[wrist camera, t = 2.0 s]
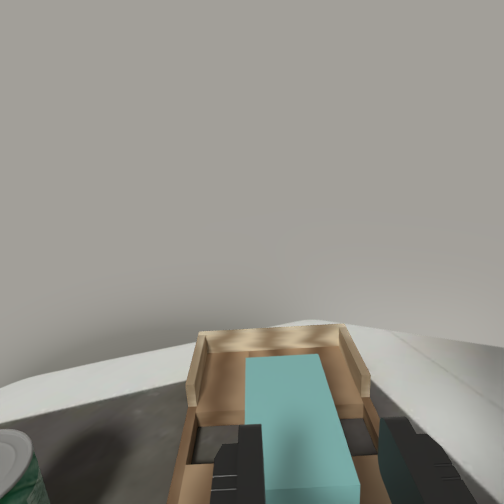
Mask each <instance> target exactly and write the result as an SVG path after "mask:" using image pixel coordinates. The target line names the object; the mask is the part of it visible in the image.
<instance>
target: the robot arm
mask: <svg viewBox="0 0 504 504" xmlns="http://www.w3.org/2000/svg"><path fill="white" fill-rule="evenodd" d="M378 465H379V470H380V474H381V477H382V480H383V483H384V485H385V488H386V490H387V493H388V495H389V498H390V501H391V503H392V504H477V502H476V501H475V499H474V498H473V496H472V494H471V493H470V491H469V490H468V488H467V486H466V485H465V483H464V482H463V480H461V478H460V475H459V474H458V472H457V470H456V469H455V467H454V466H452V462H451V461H450V459H449V458H448V456H447V454H446V453H445V451H444V450H443V448H442V447H441V446H440V445H439V444H438V443H437V442H436V441H434V440H433V439H432V438H431V437H430V436H429V435H427V434H416V432H415V431H414V429H413V427H412V425H411V424H410V422H409V420H408V419H407V418H406V417H405V416H403V417H384V418H381V419H380V423H379V440H378ZM210 504H266V494H265V474H264V456H263V440H262V425H261V424H247V425H239V433H238V443H236V444H222V446H221V448H220V450H219V451H218V453H217V455H216V457H215V458H214V467H213V478H212V485H211V495H210Z"/></svg>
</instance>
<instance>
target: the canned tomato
mask: <svg viewBox="0 0 504 504" xmlns="http://www.w3.org/2000/svg"><path fill="white" fill-rule="evenodd" d="M0 504H50V500H49V498H48V494H47V491H46V489H45V484H44V482H43V477H42V475H41V472H40V468H39V466H38V461H37V458H36V456H35V453H34V449H33V442H32V441H31V439H30V437H29V436H28V435H27V434H25V433H24V432H21V431H18V430H13V429H0Z"/></svg>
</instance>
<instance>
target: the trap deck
mask: <svg viewBox="0 0 504 504" xmlns="http://www.w3.org/2000/svg"><path fill="white" fill-rule="evenodd" d="M306 354H318V355H319V358H320V361H321V364H322V367H323V370H324V373H325V377H326V380H327V383H328V386H329V389H330V392H331V395H332V398H333V401H334V405H335V408H336V411H337V414H338V417H339V419H352V418H363V419H364V422H365V424H366V427H367V429H368V432H369V434H370V436H371V439H372V441H373V444H374V446H375V449H376V451H377V454H378V440H379V423H380V418H379V416H378V414H377V412H376V410H375V408H374V405H373V403H372V401H371V399H370V376H371V375H370V373H369V371H368V369H367V367H366V365H365V363H364V361H363V359H362V357H361V355H360V353H359V351H358V349H357V347H356V346H355V344H354V342H353V340H352V338H351V336H350V334H349V332H348V330H347V328H346V326H345V324H328V325H310V326H292V327H274V328H256V329H239V330H222V331H203V332H199V334H198V338H197V342H196V346H195V350H194V354H193V357H192V361H191V365H190V369H189V373H188V377H187V381H186V393H187V400H188V411H187V415H186V419H185V424H184V428H183V433H182V437H181V442H180V446H179V451H178V455H177V459H176V464H175V468H174V473H173V477H172V482H171V486H170V491H169V495H168V499H167V504H210V495H211V485H212V478H213V467H214V464H195V465H191V461H192V455H193V450H194V444H195V438H196V433H197V427H204V426H222V425H241V424H245V369H246V358H252V357H270V356H288V355H306ZM351 457H352V461H353V464H354V467H355V470H356V473H357V476H358V479H359V482H360V504H392V503H391V501H390V498H389V495H388V493H387V490H386V488H385V485H384V483H383V480H382V477H381V474H380V470H379V465H378V455H366V456H351Z"/></svg>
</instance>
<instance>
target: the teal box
mask: <svg viewBox="0 0 504 504" xmlns="http://www.w3.org/2000/svg"><path fill="white" fill-rule="evenodd" d="M247 424H261V425H262V440H263V456H264V474H265V494H266V504H360V482H359V479H358V476H357V473H356V470H355V467H354V464H353V461H352V457H351V454H350V451H349V448H348V445H347V442H346V439H345V436H344V433H343V429H342V426H341V423H340V420H339V417H338V414H337V411H336V408H335V405H334V401H333V398H332V395H331V392H330V389H329V386H328V383H327V380H326V377H325V373H324V370H323V367H322V364H321V361H320V358H319V355H318V354H306V355H288V356H270V357H252V358H246V369H245V425H247Z"/></svg>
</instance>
